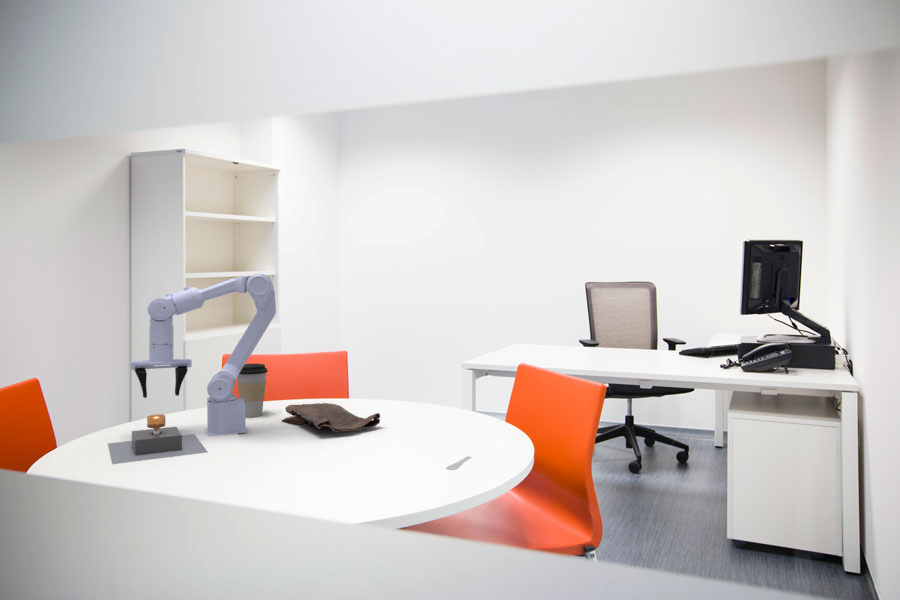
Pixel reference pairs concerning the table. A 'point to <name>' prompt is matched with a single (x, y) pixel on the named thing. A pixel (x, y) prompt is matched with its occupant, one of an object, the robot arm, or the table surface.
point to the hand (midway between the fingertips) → (161, 396)
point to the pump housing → (156, 441)
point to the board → (125, 453)
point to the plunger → (156, 422)
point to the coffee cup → (252, 388)
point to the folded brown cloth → (329, 417)
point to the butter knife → (457, 464)
